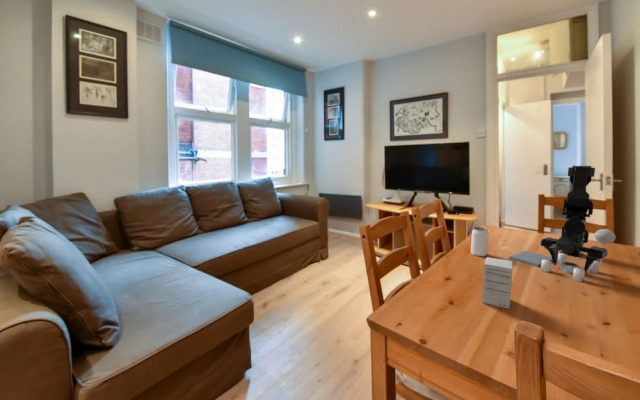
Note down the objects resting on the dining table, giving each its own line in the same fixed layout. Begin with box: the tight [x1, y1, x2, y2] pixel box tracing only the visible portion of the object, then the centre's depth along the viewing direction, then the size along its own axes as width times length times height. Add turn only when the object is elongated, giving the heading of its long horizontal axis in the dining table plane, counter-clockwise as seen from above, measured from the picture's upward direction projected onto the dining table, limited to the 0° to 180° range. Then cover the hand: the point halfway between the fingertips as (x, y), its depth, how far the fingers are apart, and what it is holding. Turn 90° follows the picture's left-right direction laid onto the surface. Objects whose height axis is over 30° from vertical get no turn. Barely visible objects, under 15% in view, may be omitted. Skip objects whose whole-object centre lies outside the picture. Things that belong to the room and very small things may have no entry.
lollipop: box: [593, 228, 616, 266], centre depth 117 cm, size 6×6×15 cm
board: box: [508, 250, 553, 267], centre depth 125 cm, size 14×11×1 cm
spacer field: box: [540, 252, 601, 283], centre depth 112 cm, size 17×13×4 cm
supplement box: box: [481, 256, 514, 309], centre depth 90 cm, size 7×7×13 cm
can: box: [470, 226, 489, 257], centre depth 132 cm, size 6×6×12 cm
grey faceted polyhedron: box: [560, 261, 580, 275], centre depth 112 cm, size 5×4×3 cm
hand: (569, 268), depth 112 cm, fingers open, 9 cm apart
